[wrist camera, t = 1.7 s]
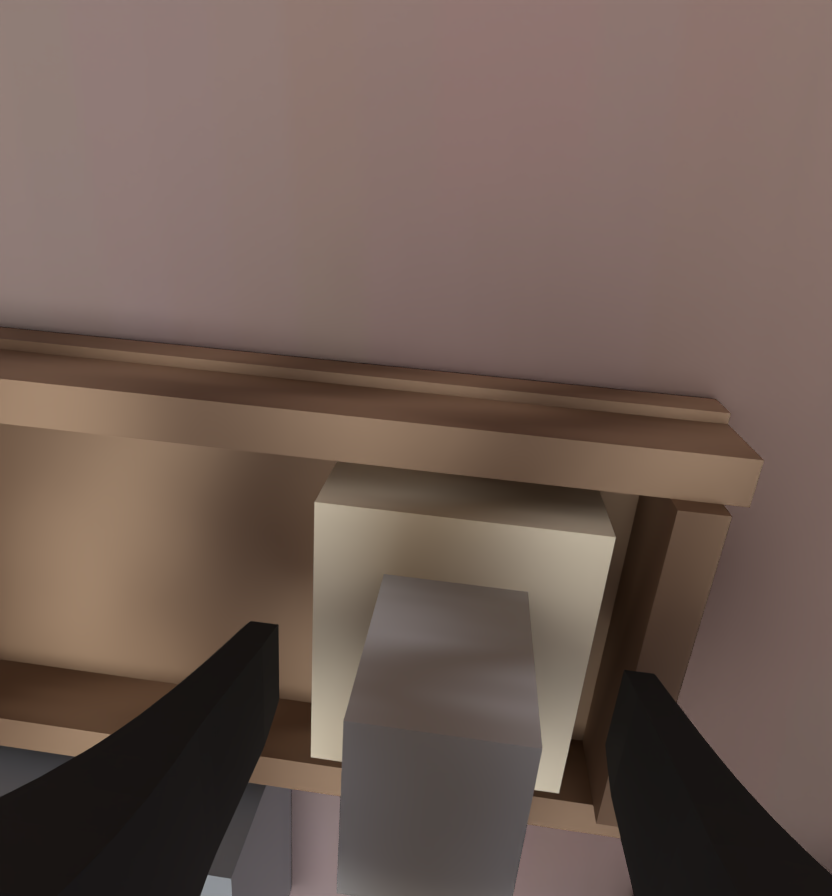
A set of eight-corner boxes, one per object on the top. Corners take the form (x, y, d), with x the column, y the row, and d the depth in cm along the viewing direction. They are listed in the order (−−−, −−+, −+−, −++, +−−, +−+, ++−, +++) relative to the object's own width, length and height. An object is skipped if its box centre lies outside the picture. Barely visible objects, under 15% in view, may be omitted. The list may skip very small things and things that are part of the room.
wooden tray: (715, 399, 15) (779, 458, 12) (621, 752, 19) (648, 868, 16) (-135, 313, 16) (-290, 344, 13) (-46, 658, 20) (-147, 746, 17)
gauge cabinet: (291, 718, 20) (231, 878, 15) (291, 888, 23) (241, 1064, 18) (-14, 674, 21) (-159, 816, 16) (26, 845, 24) (-87, 1004, 19)
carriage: (597, 484, 15) (667, 683, 9) (550, 716, 17) (580, 987, 12) (340, 456, 15) (244, 627, 9) (332, 686, 18) (255, 932, 12)
